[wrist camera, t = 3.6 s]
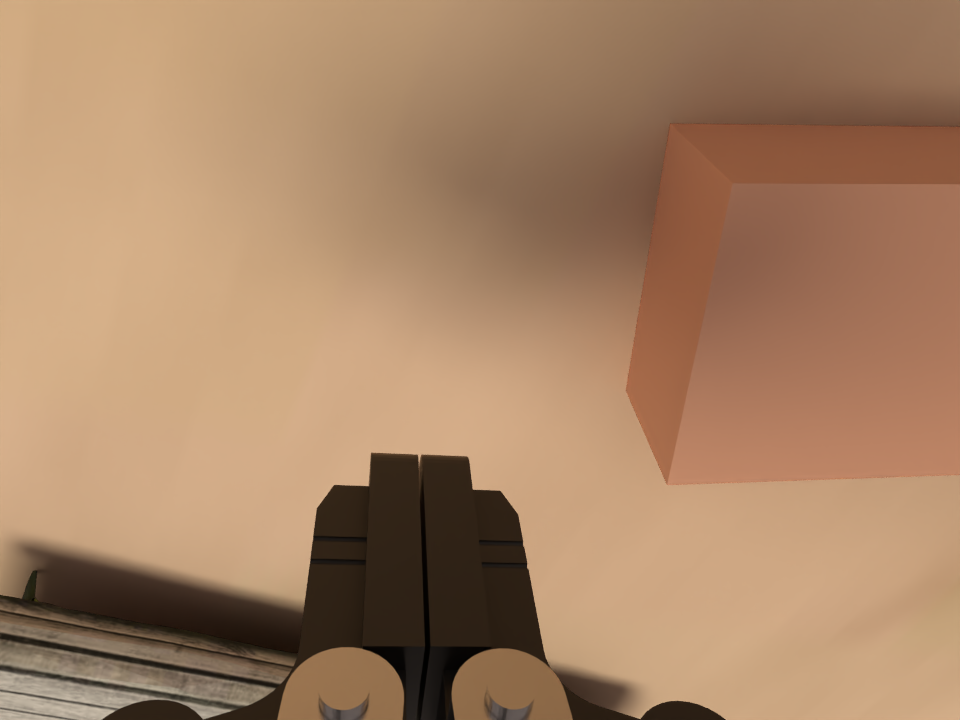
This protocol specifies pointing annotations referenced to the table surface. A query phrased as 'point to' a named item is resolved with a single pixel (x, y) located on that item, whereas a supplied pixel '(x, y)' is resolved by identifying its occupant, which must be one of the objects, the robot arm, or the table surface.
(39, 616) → the mat
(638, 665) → the table surface
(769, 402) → the terracotta block
